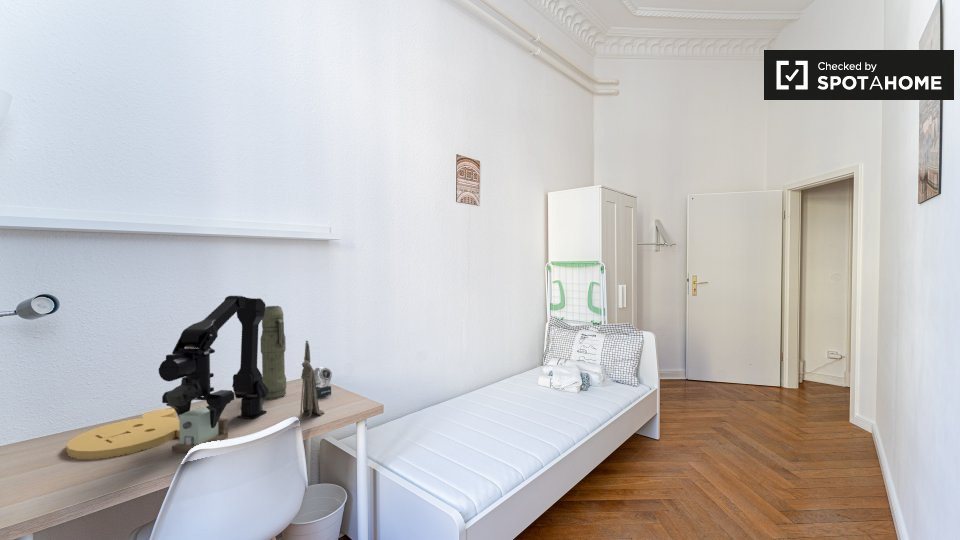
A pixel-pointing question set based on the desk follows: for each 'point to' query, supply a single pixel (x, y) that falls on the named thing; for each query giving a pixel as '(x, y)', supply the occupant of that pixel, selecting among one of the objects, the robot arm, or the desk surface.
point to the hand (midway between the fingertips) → (199, 426)
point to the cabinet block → (197, 426)
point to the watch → (326, 378)
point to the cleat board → (190, 441)
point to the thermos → (273, 352)
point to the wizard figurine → (309, 387)
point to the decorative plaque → (126, 436)
